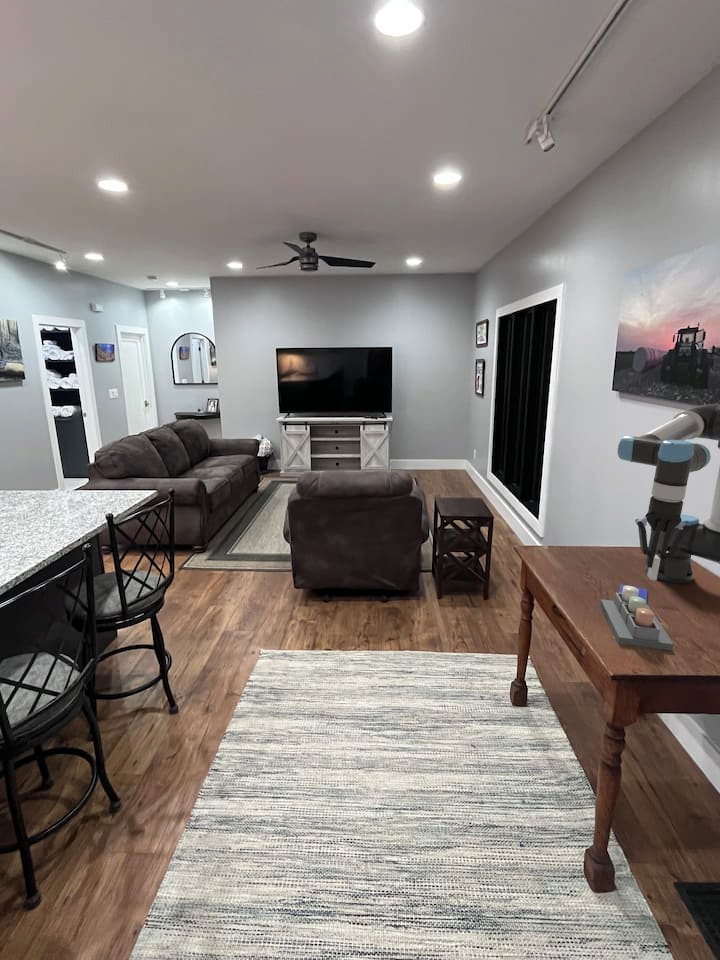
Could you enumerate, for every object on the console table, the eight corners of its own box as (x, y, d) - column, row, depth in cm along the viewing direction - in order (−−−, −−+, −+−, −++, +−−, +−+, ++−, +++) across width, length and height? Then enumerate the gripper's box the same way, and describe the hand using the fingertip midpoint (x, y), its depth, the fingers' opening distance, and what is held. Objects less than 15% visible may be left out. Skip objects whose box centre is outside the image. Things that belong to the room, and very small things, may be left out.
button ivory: (634, 597, 153) (636, 586, 152) (638, 604, 149) (640, 593, 148) (619, 596, 154) (621, 585, 153) (623, 603, 150) (625, 591, 149)
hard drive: (621, 583, 170) (618, 598, 160) (647, 589, 166) (646, 605, 156) (620, 587, 171) (618, 602, 161) (646, 593, 167) (646, 609, 157)
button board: (646, 610, 155) (649, 595, 154) (672, 650, 134) (676, 633, 133) (599, 604, 158) (602, 589, 157) (618, 643, 138) (621, 626, 136)
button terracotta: (649, 621, 140) (651, 609, 139) (654, 629, 136) (656, 617, 135) (632, 619, 141) (634, 607, 140) (637, 627, 137) (639, 615, 136)
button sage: (641, 609, 147) (643, 597, 146) (646, 616, 142) (648, 604, 141) (625, 607, 148) (627, 595, 146) (630, 614, 143) (632, 602, 142)
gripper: (688, 496, 130) (672, 574, 136) (636, 492, 133) (622, 569, 139) (700, 504, 123) (683, 586, 129) (644, 500, 126) (630, 581, 132)
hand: (651, 577), depth 134 cm, fingers closed
